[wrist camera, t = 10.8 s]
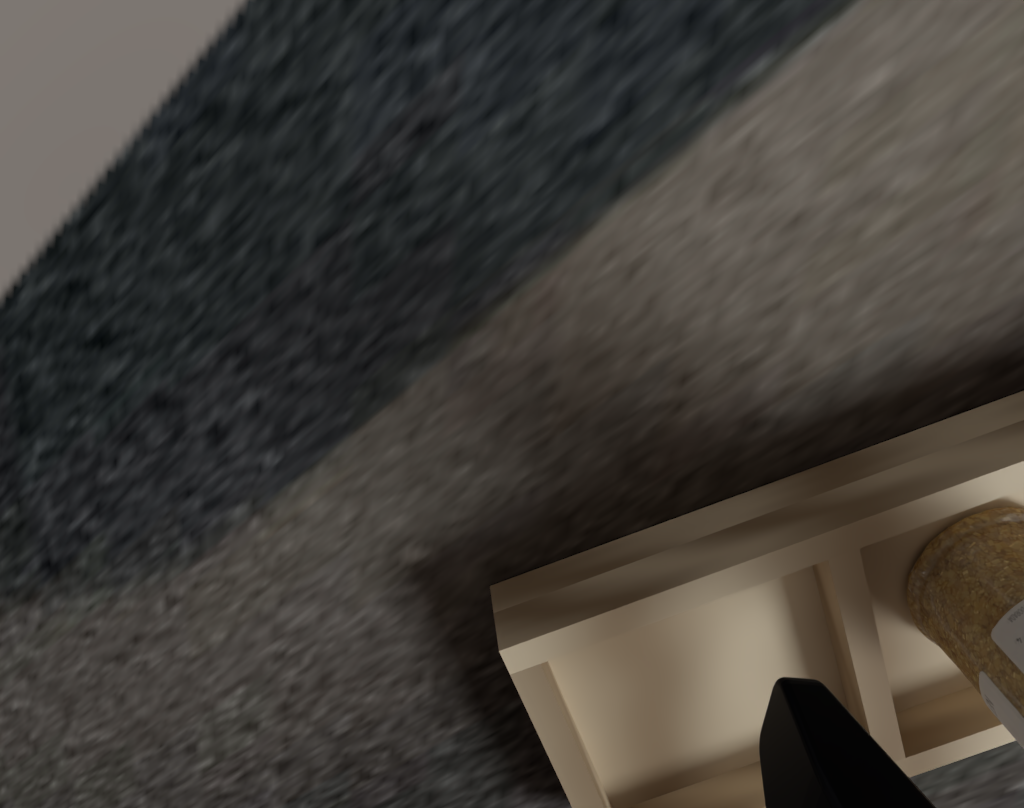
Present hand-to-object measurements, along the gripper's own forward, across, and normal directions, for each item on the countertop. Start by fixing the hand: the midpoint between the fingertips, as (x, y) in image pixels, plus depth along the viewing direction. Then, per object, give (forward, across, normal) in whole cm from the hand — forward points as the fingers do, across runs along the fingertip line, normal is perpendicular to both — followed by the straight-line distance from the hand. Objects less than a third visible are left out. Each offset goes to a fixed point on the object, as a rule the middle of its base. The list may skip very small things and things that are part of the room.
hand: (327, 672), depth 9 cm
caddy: (+13, -11, +10) cm, 20 cm away
